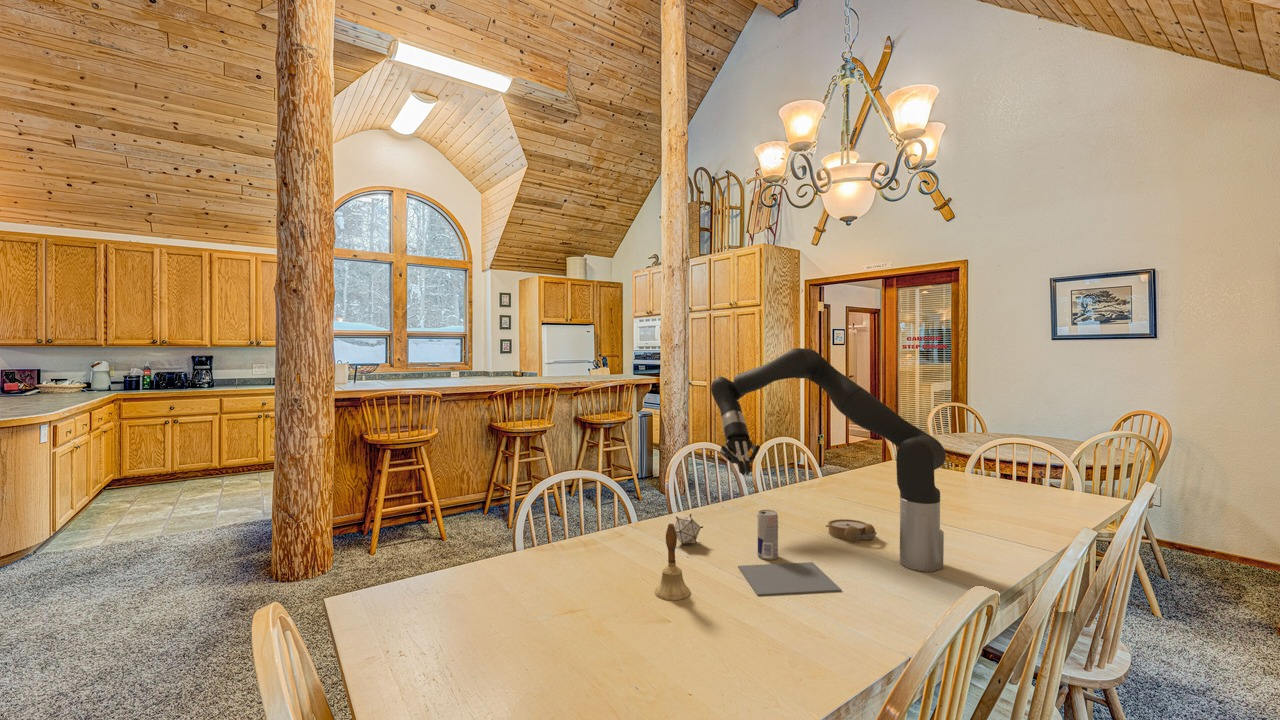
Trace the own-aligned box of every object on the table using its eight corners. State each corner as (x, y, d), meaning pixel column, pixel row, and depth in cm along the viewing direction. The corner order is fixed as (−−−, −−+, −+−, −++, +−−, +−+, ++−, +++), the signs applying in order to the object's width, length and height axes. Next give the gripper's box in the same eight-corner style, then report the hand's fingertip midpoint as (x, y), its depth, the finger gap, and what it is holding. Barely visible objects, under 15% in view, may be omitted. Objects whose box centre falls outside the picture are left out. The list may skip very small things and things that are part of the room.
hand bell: (660, 602, 121) (660, 531, 120) (650, 587, 129) (649, 520, 128) (695, 598, 123) (695, 528, 122) (683, 582, 131) (682, 517, 130)
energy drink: (763, 551, 150) (763, 508, 150) (781, 555, 147) (781, 512, 147) (754, 557, 146) (754, 513, 146) (772, 562, 143) (772, 516, 142)
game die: (692, 558, 155) (704, 537, 150) (664, 547, 155) (676, 526, 150) (696, 533, 163) (708, 512, 157) (669, 523, 163) (680, 502, 157)
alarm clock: (849, 517, 171) (885, 523, 157) (851, 533, 170) (887, 541, 156) (819, 521, 167) (853, 528, 153) (821, 538, 166) (855, 546, 152)
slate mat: (812, 563, 142) (812, 562, 142) (841, 591, 126) (841, 589, 126) (737, 567, 140) (737, 565, 140) (757, 595, 124) (757, 594, 124)
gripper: (716, 421, 174) (726, 467, 162) (757, 420, 176) (770, 466, 164) (712, 434, 180) (722, 480, 168) (752, 434, 181) (764, 479, 169)
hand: (745, 473), depth 166 cm, fingers closed
